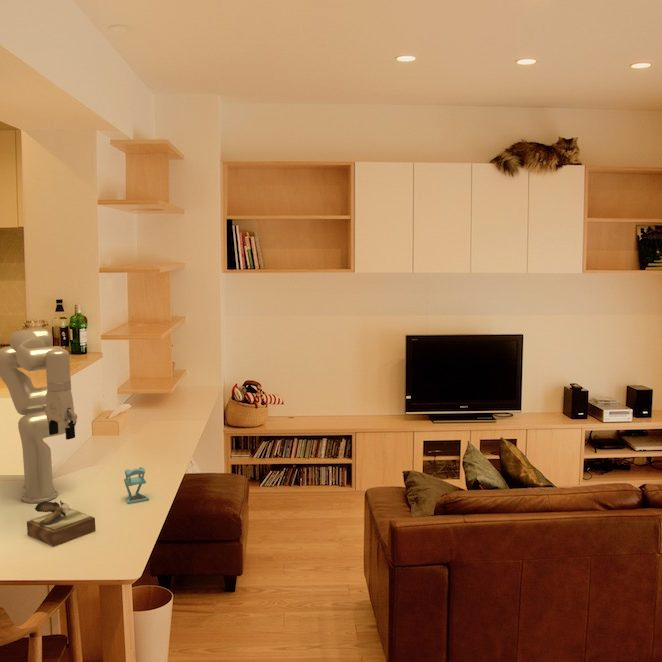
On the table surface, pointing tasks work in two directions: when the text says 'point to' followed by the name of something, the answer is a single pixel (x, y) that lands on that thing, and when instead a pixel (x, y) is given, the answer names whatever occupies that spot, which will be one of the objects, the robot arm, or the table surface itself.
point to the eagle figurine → (52, 510)
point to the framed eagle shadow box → (61, 527)
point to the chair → (135, 483)
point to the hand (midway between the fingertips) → (62, 436)
